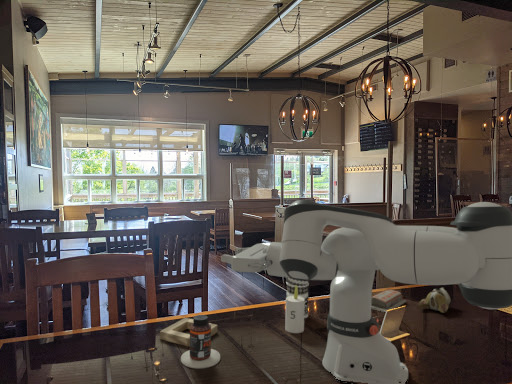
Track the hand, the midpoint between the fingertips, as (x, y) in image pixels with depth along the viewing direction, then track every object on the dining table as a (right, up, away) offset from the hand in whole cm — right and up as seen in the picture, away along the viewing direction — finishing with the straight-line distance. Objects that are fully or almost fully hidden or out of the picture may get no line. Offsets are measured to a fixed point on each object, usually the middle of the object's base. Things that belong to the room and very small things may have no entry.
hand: (229, 254), depth 108 cm
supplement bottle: (-8, -29, +2) cm, 31 cm away
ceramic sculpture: (+79, -29, +46) cm, 95 cm away
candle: (+20, -29, +24) cm, 43 cm away
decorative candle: (+23, -29, +37) cm, 52 cm away
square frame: (-14, -29, +17) cm, 37 cm away
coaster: (-8, -30, +2) cm, 31 cm away
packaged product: (+60, -29, +50) cm, 83 cm away
